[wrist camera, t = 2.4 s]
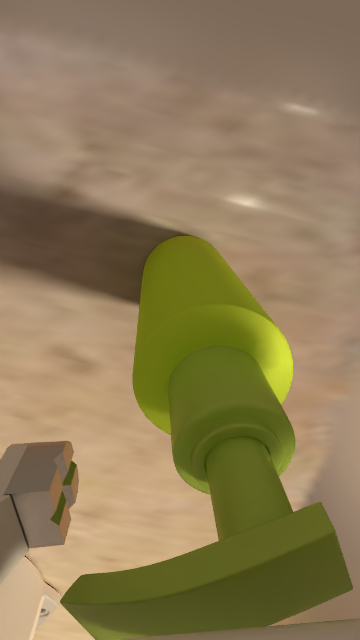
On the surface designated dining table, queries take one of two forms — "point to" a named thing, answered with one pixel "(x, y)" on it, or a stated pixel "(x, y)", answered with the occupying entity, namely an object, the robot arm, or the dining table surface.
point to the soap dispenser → (216, 462)
